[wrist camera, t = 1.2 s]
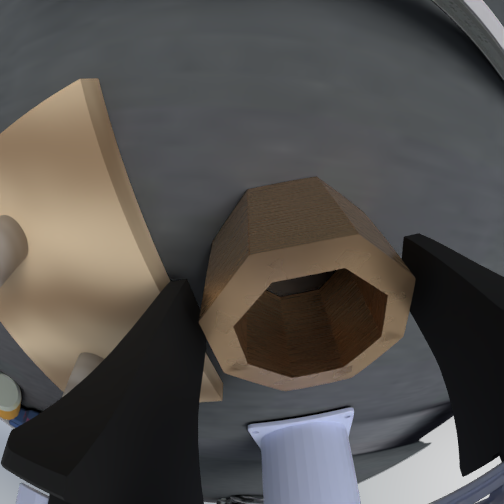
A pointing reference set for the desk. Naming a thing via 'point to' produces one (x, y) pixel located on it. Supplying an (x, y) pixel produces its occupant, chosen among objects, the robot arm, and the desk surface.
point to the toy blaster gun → (12, 403)
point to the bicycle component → (240, 500)
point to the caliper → (478, 28)
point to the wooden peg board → (74, 240)
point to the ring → (308, 303)
